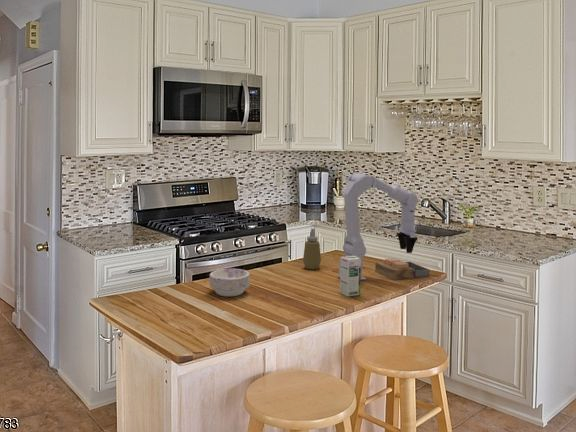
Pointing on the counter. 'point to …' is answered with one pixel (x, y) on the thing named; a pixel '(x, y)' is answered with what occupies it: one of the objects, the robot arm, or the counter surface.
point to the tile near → (400, 265)
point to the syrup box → (350, 276)
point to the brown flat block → (394, 271)
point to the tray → (419, 270)
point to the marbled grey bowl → (229, 281)
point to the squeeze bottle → (312, 252)
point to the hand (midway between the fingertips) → (406, 250)
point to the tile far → (389, 261)
